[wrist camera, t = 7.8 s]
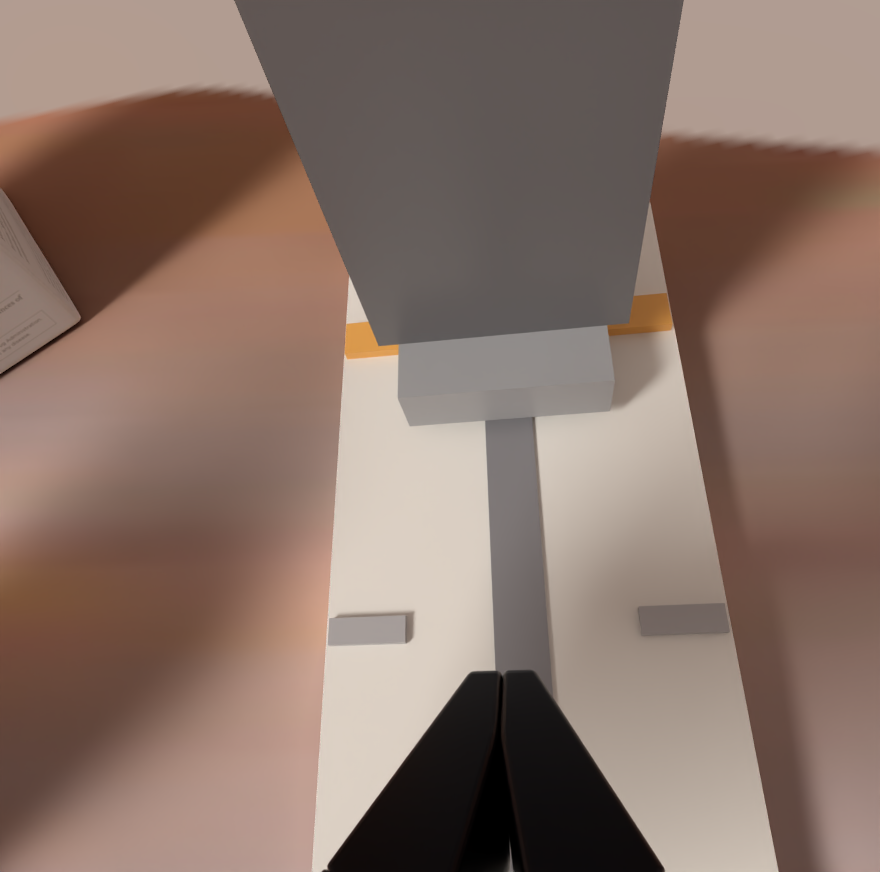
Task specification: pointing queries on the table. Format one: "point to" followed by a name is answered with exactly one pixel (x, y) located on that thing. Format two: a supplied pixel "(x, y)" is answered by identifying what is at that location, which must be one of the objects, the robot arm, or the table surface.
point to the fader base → (541, 592)
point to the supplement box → (27, 292)
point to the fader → (480, 181)
